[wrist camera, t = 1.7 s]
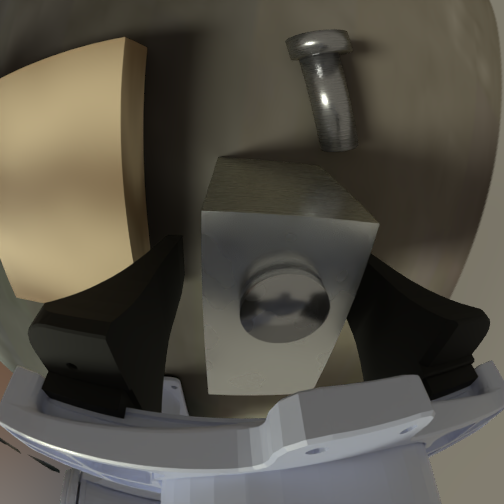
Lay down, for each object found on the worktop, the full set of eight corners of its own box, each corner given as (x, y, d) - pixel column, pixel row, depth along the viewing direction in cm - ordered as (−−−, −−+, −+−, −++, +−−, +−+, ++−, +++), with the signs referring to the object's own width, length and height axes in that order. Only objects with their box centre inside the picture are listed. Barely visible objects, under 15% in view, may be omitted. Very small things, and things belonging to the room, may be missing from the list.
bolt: (357, 138, 11) (383, 149, 9) (307, 148, 11) (324, 161, 9) (335, 39, 8) (357, 28, 6) (280, 46, 9) (292, 33, 7)
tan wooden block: (155, 285, 14) (144, 317, 12) (35, 273, 14) (16, 297, 11) (147, 47, 8) (125, 36, 6) (4, 87, 7) (-27, 93, 5)
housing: (291, 303, 16) (313, 404, 10) (214, 301, 15) (207, 406, 10) (318, 165, 12) (390, 234, 6) (218, 156, 11) (198, 222, 6)
